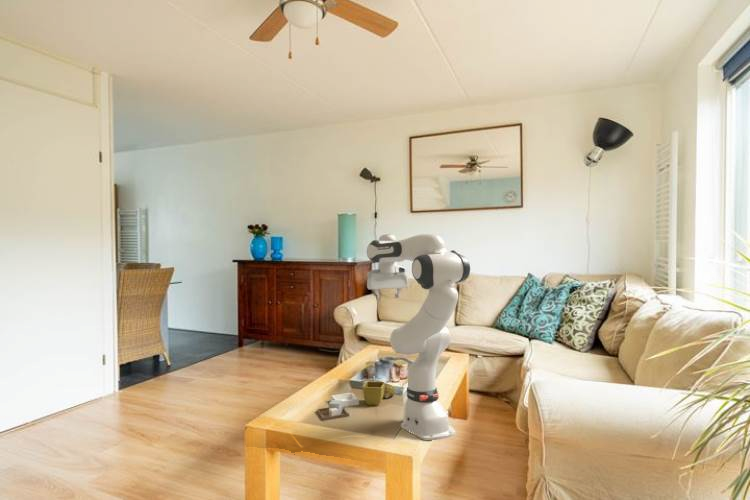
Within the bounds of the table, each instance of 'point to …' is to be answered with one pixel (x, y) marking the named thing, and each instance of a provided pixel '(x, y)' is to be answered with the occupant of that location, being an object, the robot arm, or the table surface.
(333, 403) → the pebble
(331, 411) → the small pebble
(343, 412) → the gravel tray
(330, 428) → the table surface
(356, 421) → the table surface
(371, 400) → the flower pot
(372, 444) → the table surface
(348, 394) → the grey bin
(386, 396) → the seashell
